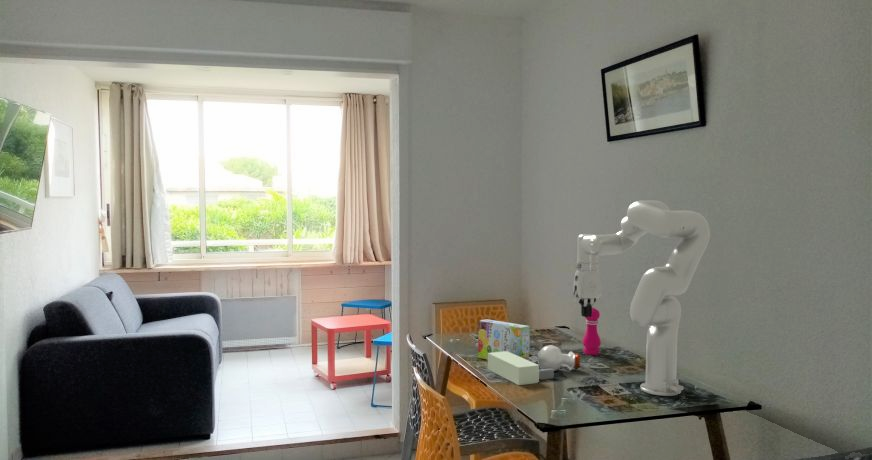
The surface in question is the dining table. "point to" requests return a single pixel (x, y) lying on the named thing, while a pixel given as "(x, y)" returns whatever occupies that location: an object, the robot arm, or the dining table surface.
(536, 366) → the green and grey block
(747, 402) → the dining table surface
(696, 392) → the dining table surface
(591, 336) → the pepper mill
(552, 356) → the potion bottle
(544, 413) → the dining table surface
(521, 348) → the snack box
